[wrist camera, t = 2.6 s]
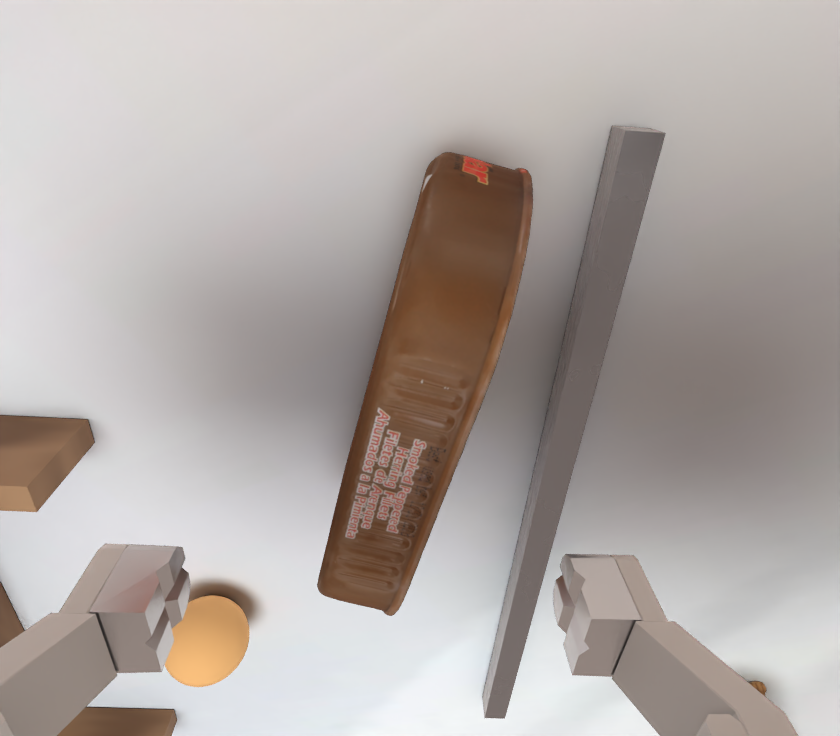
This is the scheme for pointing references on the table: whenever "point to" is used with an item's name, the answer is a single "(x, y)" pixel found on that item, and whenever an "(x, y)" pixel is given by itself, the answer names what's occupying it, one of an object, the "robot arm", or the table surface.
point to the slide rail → (573, 388)
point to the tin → (428, 374)
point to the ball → (208, 641)
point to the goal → (27, 491)
